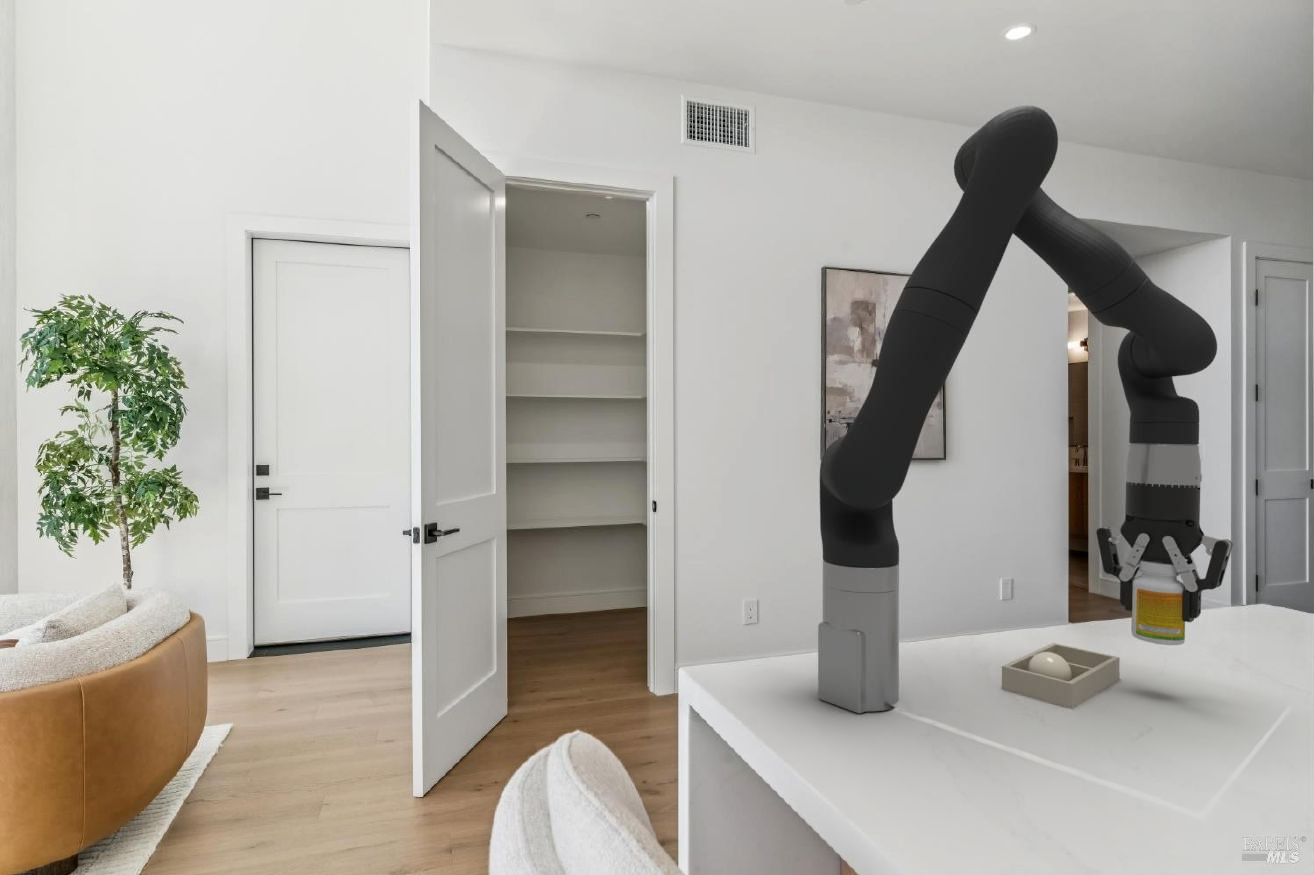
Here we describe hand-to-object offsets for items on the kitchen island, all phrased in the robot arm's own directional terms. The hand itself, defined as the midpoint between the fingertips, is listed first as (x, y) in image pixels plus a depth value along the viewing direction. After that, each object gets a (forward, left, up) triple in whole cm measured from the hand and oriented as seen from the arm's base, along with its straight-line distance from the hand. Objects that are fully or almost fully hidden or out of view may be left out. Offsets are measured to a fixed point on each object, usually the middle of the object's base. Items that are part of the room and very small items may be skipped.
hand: (1159, 614), depth 86 cm
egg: (-9, +9, -10) cm, 16 cm away
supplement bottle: (0, 0, -3) cm, 3 cm away
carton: (-5, +9, -11) cm, 15 cm away
